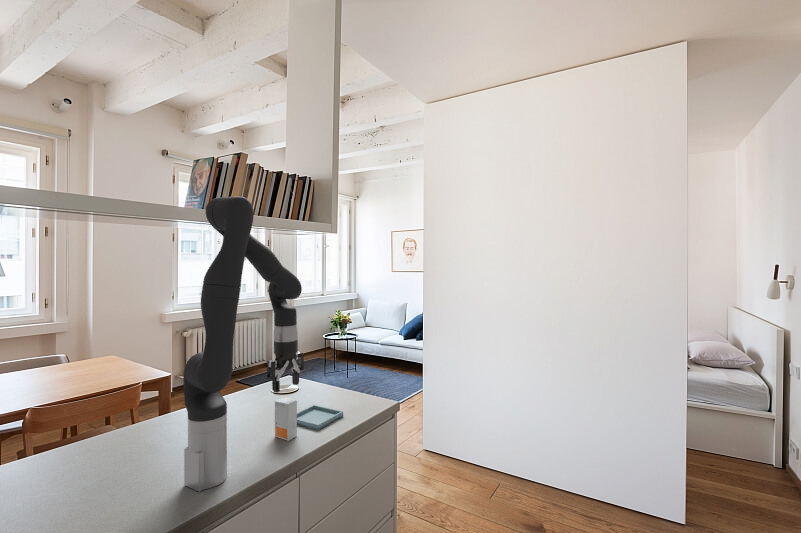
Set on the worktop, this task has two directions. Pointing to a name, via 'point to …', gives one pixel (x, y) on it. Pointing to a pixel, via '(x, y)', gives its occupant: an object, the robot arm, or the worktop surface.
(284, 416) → the skincare box
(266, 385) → the worktop surface
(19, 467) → the worktop surface
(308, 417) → the tray
